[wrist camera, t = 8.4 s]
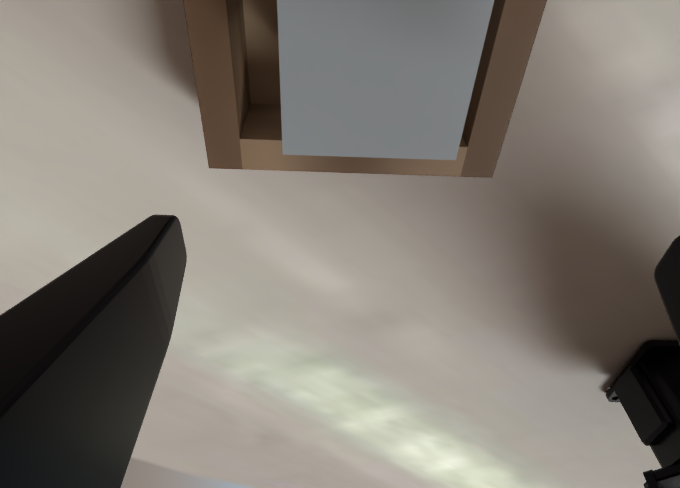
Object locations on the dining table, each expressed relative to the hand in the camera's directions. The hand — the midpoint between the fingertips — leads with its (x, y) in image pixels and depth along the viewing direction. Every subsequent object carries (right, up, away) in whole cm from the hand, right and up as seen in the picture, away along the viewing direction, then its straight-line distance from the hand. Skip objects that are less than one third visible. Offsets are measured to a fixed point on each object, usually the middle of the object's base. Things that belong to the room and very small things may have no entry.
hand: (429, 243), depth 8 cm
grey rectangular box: (-1, +8, +7) cm, 11 cm away
